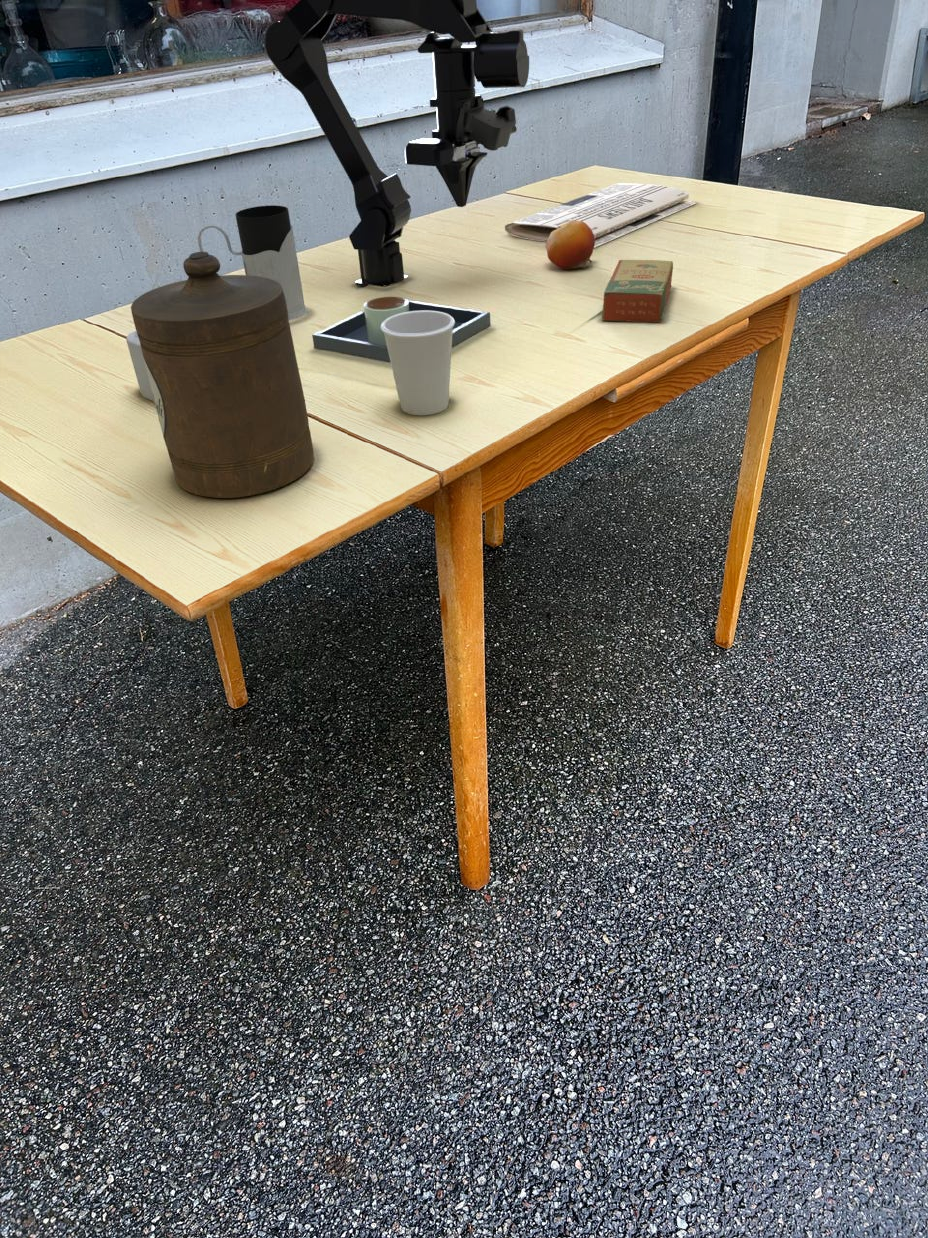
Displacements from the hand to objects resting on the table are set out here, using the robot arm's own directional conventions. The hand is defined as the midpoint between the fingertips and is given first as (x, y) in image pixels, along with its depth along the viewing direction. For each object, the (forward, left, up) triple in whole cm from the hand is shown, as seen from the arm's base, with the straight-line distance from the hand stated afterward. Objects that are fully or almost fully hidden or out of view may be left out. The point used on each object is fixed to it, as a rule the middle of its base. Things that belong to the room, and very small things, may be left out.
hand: (461, 206), depth 141 cm
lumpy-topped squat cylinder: (-8, -50, -12) cm, 53 cm away
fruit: (+10, +17, -12) cm, 23 cm away
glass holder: (-20, -25, -12) cm, 35 cm away
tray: (+6, -24, -12) cm, 28 cm away
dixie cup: (+22, -41, -12) cm, 48 cm away
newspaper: (+1, +47, -12) cm, 48 cm away
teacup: (+6, -27, -11) cm, 30 cm away
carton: (+29, +3, -12) cm, 31 cm away
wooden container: (+14, -63, -12) cm, 66 cm away
